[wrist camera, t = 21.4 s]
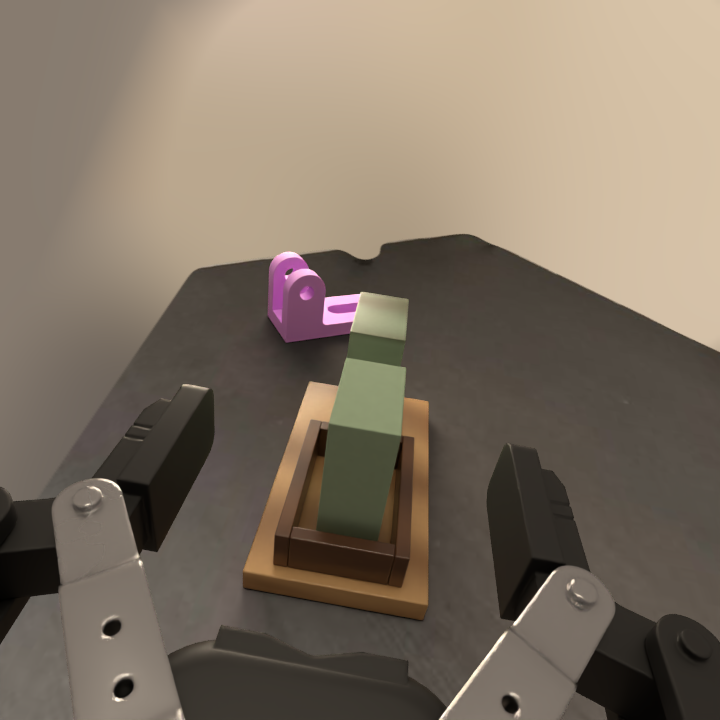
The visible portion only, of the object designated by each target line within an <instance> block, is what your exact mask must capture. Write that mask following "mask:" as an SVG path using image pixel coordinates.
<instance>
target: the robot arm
mask: <svg viewBox="0 0 720 720" xmlns="http://www.w3.org/2000/svg"><path fill="white" fill-rule="evenodd" d="M214 430H215V429H214V394H213V390H212V389H210V388H205V387H199V386H194V385H188V384H183V385H182V386H181V387H180V389H179V390H178V392H177V393H176V394H175V396H174V397H173V399H172V400H171V401H170V400H165V399H160V400H158V401H156V402H155V403H153V404H152V405H150V406H148V407H147V408H145V409H144V410H143V411H142V413H141V414H140V415H139V417H138V418H137V419H136V421H135V422H134V425H133V426H131V427H130V428H129V430H128V431H127V432H126V434H125V437H123V438H122V439H121V440H120V442H119V443H118V444H117V446H116V447H115V448H114V449H113V451H112V452H111V453H110V455H109V456H108V457H107V459H106V460H105V461H104V463H103V464H102V465H101V467H100V468H99V469H98V470H97V472H96V473H95V474H94V476H93V477H92V478H91V479H86V480H82V481H79V482H76V483H74V484H72V485H70V486H69V487H67V488H66V489H64V490H63V491H62V492H61V493H60V494H59V495H58V496H57V497H55V498H49V499H38V500H26V501H12V498H11V496H10V493H9V492H8V491H7V490H6V489H4V488H2V487H0V644H1V642H2V641H3V639H4V638H5V636H6V634H7V633H8V631H9V630H10V628H11V627H12V625H13V623H14V622H15V620H16V619H17V617H18V616H19V614H20V612H21V611H22V609H23V608H24V606H25V605H26V603H27V601H28V600H29V598H30V597H31V596H38V595H46V594H54V593H59V602H60V610H61V619H62V627H63V635H64V643H65V651H66V659H67V668H68V676H69V684H70V692H71V700H72V708H73V717H74V720H560V718H561V717H562V715H563V713H564V711H565V709H566V708H567V706H568V704H569V702H570V700H571V699H572V697H573V695H574V693H575V692H577V693H579V694H581V695H583V696H584V697H586V698H588V699H590V700H592V701H594V702H596V703H597V704H599V705H601V706H603V707H605V710H606V715H607V720H720V642H719V641H718V639H717V638H716V637H715V636H714V635H713V634H712V633H711V632H710V631H709V630H707V629H706V628H705V627H704V626H702V625H701V624H699V623H698V622H696V621H694V620H692V619H690V618H688V617H685V616H682V615H677V614H669V615H665V616H663V617H662V618H661V619H660V620H659V621H658V622H657V623H655V622H653V621H651V620H649V619H647V618H645V617H643V616H641V615H638V614H636V613H634V612H632V611H630V610H628V609H626V608H624V607H622V606H620V605H619V604H617V603H616V602H614V599H613V597H612V595H611V593H610V591H609V590H608V588H607V587H606V586H605V584H604V583H603V582H602V581H601V580H600V579H599V578H597V577H596V576H595V575H593V574H592V573H591V572H590V570H589V566H588V563H587V560H586V556H585V553H584V550H583V546H582V543H581V539H580V536H579V533H578V529H577V526H576V523H575V521H574V520H573V518H574V516H573V513H572V509H571V507H569V504H570V503H569V499H568V496H567V493H566V489H565V487H564V485H563V484H562V483H561V481H560V480H559V479H558V477H557V476H556V475H555V474H554V472H553V471H550V470H545V469H541V465H540V461H539V457H538V453H537V451H536V449H535V448H531V447H526V446H520V445H515V444H509V443H506V444H505V445H504V447H503V449H502V452H501V455H500V457H499V460H498V462H497V465H496V467H495V470H494V472H493V475H492V477H491V480H490V483H489V486H488V491H487V512H488V520H489V528H490V536H491V544H492V553H493V561H494V569H495V577H496V585H497V593H498V602H499V610H500V618H501V619H507V620H512V621H516V622H515V623H514V624H513V626H512V627H509V628H508V629H507V630H506V631H505V632H504V634H503V635H502V636H501V638H500V639H499V640H498V642H497V643H496V644H495V646H494V647H493V648H492V650H491V651H490V652H489V654H488V655H487V656H486V658H485V659H484V660H483V662H482V663H481V664H480V666H479V667H478V668H477V670H476V671H475V672H474V674H473V675H472V676H471V678H470V679H469V680H468V682H467V683H466V684H465V686H464V687H463V688H462V690H461V691H460V692H459V694H458V695H457V696H456V698H455V699H454V700H453V702H452V703H451V704H450V706H449V707H448V708H447V707H446V706H445V705H444V704H443V703H442V702H441V701H440V700H439V699H438V697H437V696H436V695H434V694H433V693H432V692H431V691H430V690H429V689H427V688H426V687H425V686H423V685H422V684H420V683H419V682H417V681H416V680H414V679H412V678H410V677H408V661H407V660H401V659H396V658H391V657H386V656H381V655H375V654H370V653H365V652H356V653H343V654H331V655H319V656H313V655H309V654H307V653H305V652H303V651H301V650H298V649H296V648H294V647H292V646H290V645H288V644H286V643H284V642H282V641H280V640H278V639H276V638H274V637H272V636H270V635H268V634H265V633H260V632H255V631H250V630H244V629H239V628H234V627H229V626H224V625H221V627H220V629H219V632H218V635H217V638H216V640H208V641H203V642H198V643H195V644H192V645H189V646H186V647H183V648H181V649H179V650H177V651H175V652H173V653H171V654H169V655H167V652H166V648H165V644H164V640H163V637H162V633H161V629H160V625H159V622H158V618H157V614H156V611H155V607H154V603H153V599H152V596H151V592H150V588H149V585H148V581H147V577H146V573H145V570H144V566H143V563H142V559H141V557H139V555H140V553H141V551H142V549H143V550H149V551H154V552H158V550H159V548H160V546H161V544H162V542H163V540H164V539H165V537H166V535H167V533H168V531H169V529H170V527H171V525H172V523H173V521H174V520H175V518H176V516H177V514H178V512H179V510H180V508H181V506H182V504H183V502H184V501H185V499H186V497H187V495H188V493H189V491H190V489H191V487H192V485H193V483H194V481H195V480H196V478H197V476H198V474H199V472H200V470H201V468H202V466H203V464H204V462H205V461H206V459H207V457H208V455H209V453H210V450H211V447H212V444H213V440H214Z"/></svg>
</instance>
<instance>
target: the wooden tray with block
mask: <svg viewBox="0 0 720 720" xmlns="http://www.w3.org/2000/svg"><path fill="white" fill-rule="evenodd" d="M408 303H409V300H408V299H403V298H397V297H390V296H384V295H378V294H372V293H366V292H361V294H360V297H359V301H358V305H357V308H356V312H355V316H354V320H353V323H352V327H351V331H350V337H349V345H348V352H347V358H351V359H357V360H363V361H369V362H375V363H381V364H386V365H392V366H398V367H400V366H401V361H402V356H403V351H404V346H405V341H406V329H407V316H408ZM338 387H339V386H334V385H328V384H322V383H317V382H311V381H310V382H309V384H308V387H307V390H306V392H305V395H304V398H303V401H302V404H301V407H300V410H299V412H298V415H297V418H296V421H295V424H294V427H293V430H292V432H291V435H290V438H289V441H288V444H287V447H286V450H285V452H284V455H283V458H282V461H281V464H280V467H279V470H278V472H277V475H276V478H275V481H274V484H273V487H272V490H271V492H270V495H269V498H268V501H267V504H266V507H265V510H264V513H263V515H262V518H261V521H260V524H259V527H258V530H257V533H256V535H255V538H254V541H253V544H252V547H251V550H250V553H249V555H248V558H247V561H246V564H245V567H244V570H243V587H244V588H248V589H254V590H259V591H265V592H270V593H276V594H281V595H286V596H292V597H297V598H303V599H308V600H314V601H319V602H325V603H330V604H336V605H341V606H347V607H352V608H357V609H363V610H368V611H374V612H379V613H385V614H390V615H396V616H401V617H407V618H412V619H417V620H423V619H424V616H425V613H426V610H427V607H428V470H429V402H428V401H422V400H416V399H410V398H405V397H404V406H403V419H402V433H401V440H400V444H399V449H398V453H397V457H396V462H395V466H394V471H393V475H392V480H391V484H390V489H389V493H388V498H387V502H386V507H385V511H384V515H383V520H382V524H381V529H380V533H379V538H378V541H372V540H366V539H361V538H355V537H350V536H344V535H339V534H333V533H327V532H322V531H316V526H317V517H318V509H319V501H320V492H321V484H322V476H323V467H324V459H325V451H326V442H327V434H328V426H329V421H330V417H331V413H332V409H333V406H334V402H335V398H336V394H337V391H338Z"/></svg>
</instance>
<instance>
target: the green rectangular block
mask: <svg viewBox="0 0 720 720" xmlns="http://www.w3.org/2000/svg"><path fill="white" fill-rule="evenodd" d="M405 379H406V368H404V367H398V366H392V365H386V364H381V363H375V362H369V361H363V360H357V359H351V358H346V360H345V364H344V368H343V372H342V375H341V379H340V383H339V387H338V391H337V394H336V398H335V402H334V406H333V409H332V413H331V417H330V421H329V426H328V434H327V442H326V451H325V459H324V467H323V476H322V484H321V492H320V501H319V509H318V517H317V526H316V531H322V532H327V533H333V534H339V535H344V536H350V537H355V538H361V539H366V540H372V541H378V538H379V533H380V529H381V524H382V520H383V515H384V511H385V507H386V502H387V498H388V493H389V489H390V484H391V480H392V475H393V471H394V466H395V462H396V457H397V453H398V449H399V444H400V440H401V433H402V419H403V406H404V392H405Z"/></svg>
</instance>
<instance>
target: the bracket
mask: <svg viewBox="0 0 720 720" xmlns="http://www.w3.org/2000/svg"><path fill="white" fill-rule="evenodd" d="M291 268H293V272H292V273H291V274H290V275H287V276H285V273H286V271H287V270H288V269H291ZM325 292H326V288H325V284H324V282H323V281H322V279H321V278H320V277H319V276H318V275H317V274H316V273H315V272H314V271H312V270H309V268H308V265H307V264H306V262H305V261H304V260H303V259H302V258H301V257H300V256H299V255H298V254H296V253H294V252H284V253H281V254H279V255H278V256H276V257H275V258H274V259H273V261H272V262H271V264H270V267H269V291H268V317H269V318H270V320H271V321H272V323H273V324H274V326H275V327H276V329H277V330H278V332H279V333H280V335H281V336H282V338H283V339H284V341H285V342H286V343H288V342H294V341H301V340H308V339H315V338H322V337H329V336H336V335H343V334H350V331H351V327H352V323H353V320H354V316H355V312H356V308H357V305H358V301H359V297H360V294H355V295H346V296H337V297H327V298H325Z"/></svg>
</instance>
